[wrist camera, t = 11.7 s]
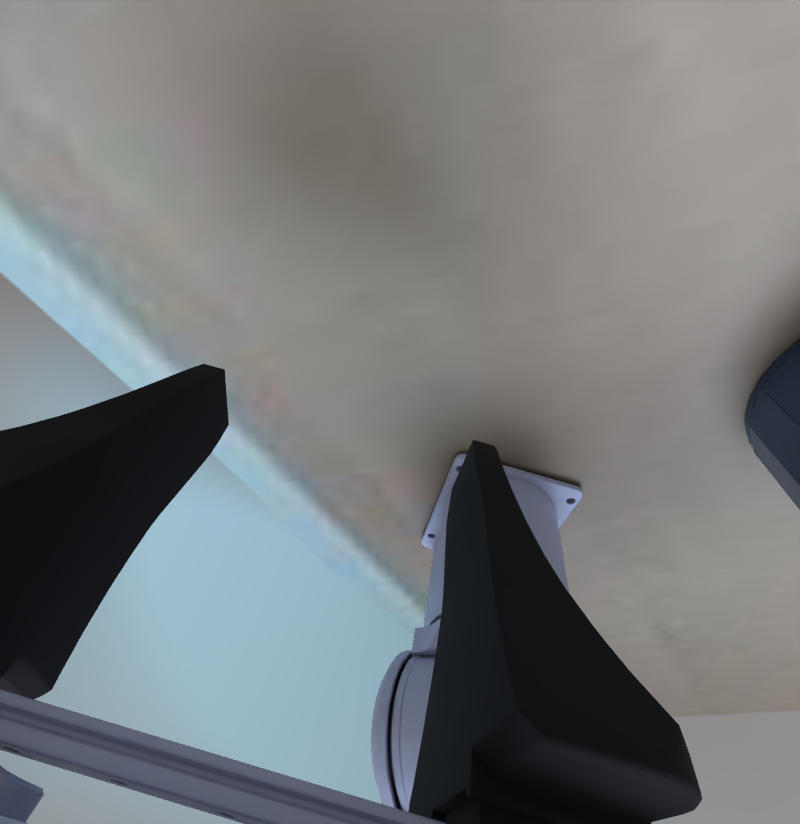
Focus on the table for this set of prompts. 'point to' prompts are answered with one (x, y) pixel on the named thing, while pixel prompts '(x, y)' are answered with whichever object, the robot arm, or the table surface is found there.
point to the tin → (778, 421)
